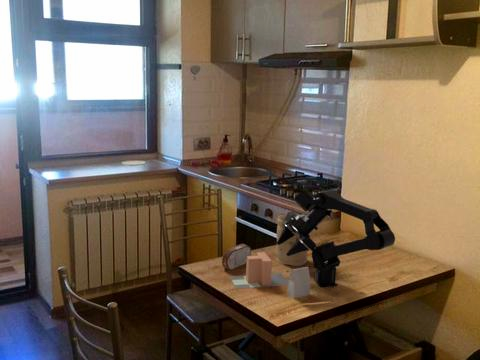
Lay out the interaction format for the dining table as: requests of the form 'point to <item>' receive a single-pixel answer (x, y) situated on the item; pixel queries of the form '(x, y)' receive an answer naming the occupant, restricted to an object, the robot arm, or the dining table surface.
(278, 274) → the board
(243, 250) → the tin
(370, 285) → the dining table surface
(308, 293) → the grey upright block
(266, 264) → the t block
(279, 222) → the container
